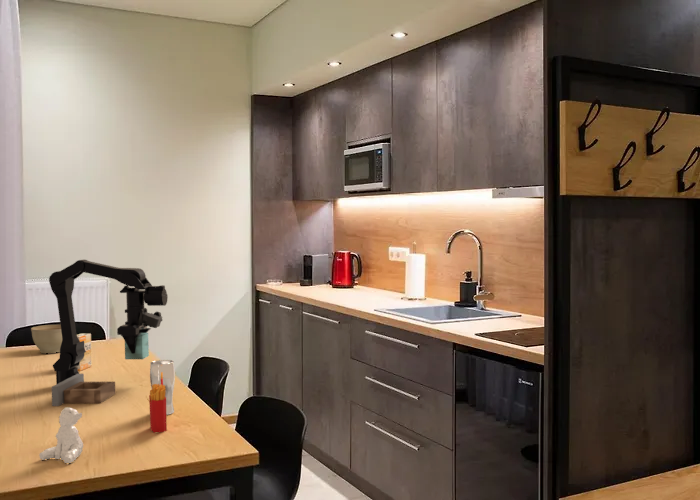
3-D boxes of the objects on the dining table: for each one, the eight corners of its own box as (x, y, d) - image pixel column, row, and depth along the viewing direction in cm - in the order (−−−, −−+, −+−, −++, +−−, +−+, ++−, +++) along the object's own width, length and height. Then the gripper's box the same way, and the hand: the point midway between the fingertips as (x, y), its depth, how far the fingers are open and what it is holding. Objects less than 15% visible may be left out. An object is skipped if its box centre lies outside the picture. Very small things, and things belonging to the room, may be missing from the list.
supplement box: (80, 371, 265) (79, 336, 264) (68, 371, 266) (67, 336, 265) (92, 366, 273) (91, 333, 272) (81, 366, 274) (80, 332, 273)
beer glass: (180, 410, 208) (178, 360, 208) (166, 417, 202) (165, 365, 201) (160, 408, 211) (158, 359, 210) (146, 415, 204) (144, 363, 203)
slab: (52, 406, 215) (51, 386, 215) (78, 391, 233) (77, 373, 233) (58, 406, 215) (57, 386, 215) (84, 391, 233) (83, 373, 233)
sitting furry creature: (37, 461, 167) (35, 410, 166) (64, 449, 175) (62, 401, 174) (69, 465, 163) (67, 414, 163) (94, 453, 171) (93, 404, 171)
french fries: (149, 426, 193) (147, 382, 193) (163, 424, 195) (162, 381, 194) (153, 434, 185) (152, 389, 185) (168, 432, 187) (167, 388, 186)
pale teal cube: (125, 359, 236) (124, 335, 236) (131, 355, 242) (131, 332, 242) (142, 359, 236) (142, 335, 236) (148, 355, 242) (148, 332, 242)
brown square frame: (64, 403, 218) (63, 390, 218) (80, 393, 230) (80, 381, 230) (100, 403, 218) (100, 390, 218) (115, 393, 229) (115, 381, 229)
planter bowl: (63, 355, 297) (62, 329, 296) (25, 355, 297) (24, 330, 296) (78, 348, 313) (77, 323, 312) (42, 348, 313) (41, 324, 312)
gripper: (149, 309, 228) (150, 357, 229) (167, 302, 247) (168, 346, 248) (115, 309, 229) (117, 357, 230) (136, 302, 248) (137, 346, 248)
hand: (136, 351), depth 239 cm, fingers closed on pale teal cube, 6 cm apart
